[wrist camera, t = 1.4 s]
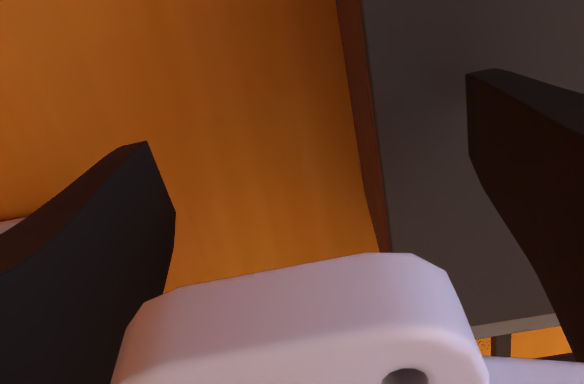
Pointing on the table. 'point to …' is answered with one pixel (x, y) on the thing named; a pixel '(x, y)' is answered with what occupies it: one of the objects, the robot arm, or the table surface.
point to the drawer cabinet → (449, 131)
